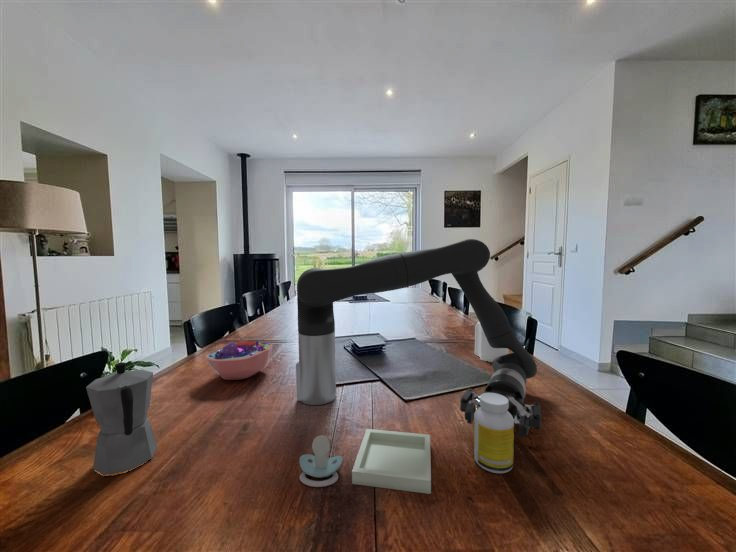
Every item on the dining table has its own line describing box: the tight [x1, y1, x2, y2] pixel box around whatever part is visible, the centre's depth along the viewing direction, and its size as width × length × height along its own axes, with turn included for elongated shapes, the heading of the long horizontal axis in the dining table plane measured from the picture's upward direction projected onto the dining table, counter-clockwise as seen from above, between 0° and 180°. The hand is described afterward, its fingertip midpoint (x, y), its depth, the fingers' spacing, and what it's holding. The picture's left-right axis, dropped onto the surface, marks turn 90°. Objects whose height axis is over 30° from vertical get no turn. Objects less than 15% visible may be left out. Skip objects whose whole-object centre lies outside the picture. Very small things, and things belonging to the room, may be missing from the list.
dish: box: [351, 428, 432, 495], centre depth 55 cm, size 12×12×2 cm
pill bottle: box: [473, 392, 515, 474], centre depth 54 cm, size 6×6×12 cm
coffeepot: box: [85, 362, 158, 475], centre depth 55 cm, size 15×9×18 cm, turn 43°
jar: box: [474, 321, 510, 363], centre depth 110 cm, size 12×10×15 cm
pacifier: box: [299, 434, 344, 488], centre depth 52 cm, size 7×6×6 cm
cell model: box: [204, 340, 273, 381], centre depth 95 cm, size 17×20×11 cm
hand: (494, 425), depth 55 cm, fingers open, 8 cm apart
